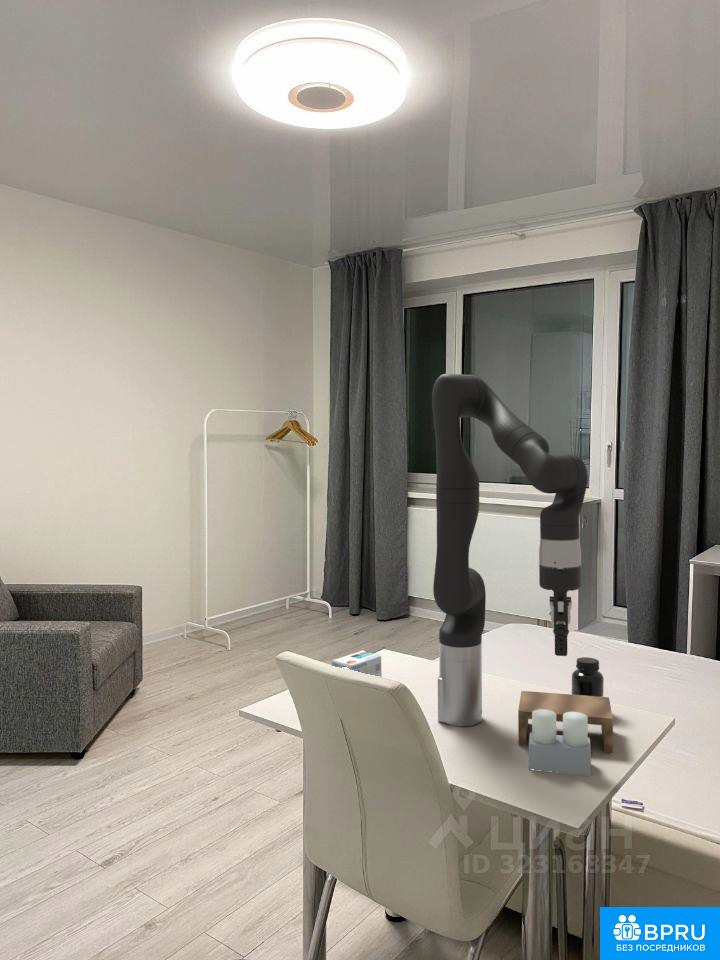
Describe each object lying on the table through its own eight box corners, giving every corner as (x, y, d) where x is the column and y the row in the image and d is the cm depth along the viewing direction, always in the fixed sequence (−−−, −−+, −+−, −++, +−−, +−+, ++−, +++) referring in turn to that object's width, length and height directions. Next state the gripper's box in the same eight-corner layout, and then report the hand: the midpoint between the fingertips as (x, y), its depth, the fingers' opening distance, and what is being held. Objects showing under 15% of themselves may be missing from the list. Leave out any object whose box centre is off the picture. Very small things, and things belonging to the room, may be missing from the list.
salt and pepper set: (528, 770, 137) (528, 717, 136) (530, 757, 142) (530, 707, 142) (590, 776, 134) (591, 723, 133) (589, 763, 139) (589, 712, 139)
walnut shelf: (518, 744, 148) (518, 710, 147) (521, 722, 159) (521, 690, 159) (612, 753, 143) (612, 718, 143) (608, 729, 155) (608, 697, 154)
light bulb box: (362, 692, 179) (362, 649, 179) (383, 699, 175) (382, 654, 174) (331, 704, 172) (330, 659, 171) (351, 711, 167) (351, 665, 166)
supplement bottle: (605, 719, 160) (605, 665, 160) (572, 717, 162) (572, 664, 161) (601, 708, 167) (601, 656, 166) (570, 706, 168) (570, 654, 168)
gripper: (539, 556, 144) (540, 638, 145) (538, 568, 130) (539, 659, 131) (579, 556, 142) (580, 639, 143) (582, 569, 128) (583, 661, 129)
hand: (560, 648), depth 137 cm, fingers open, 8 cm apart
